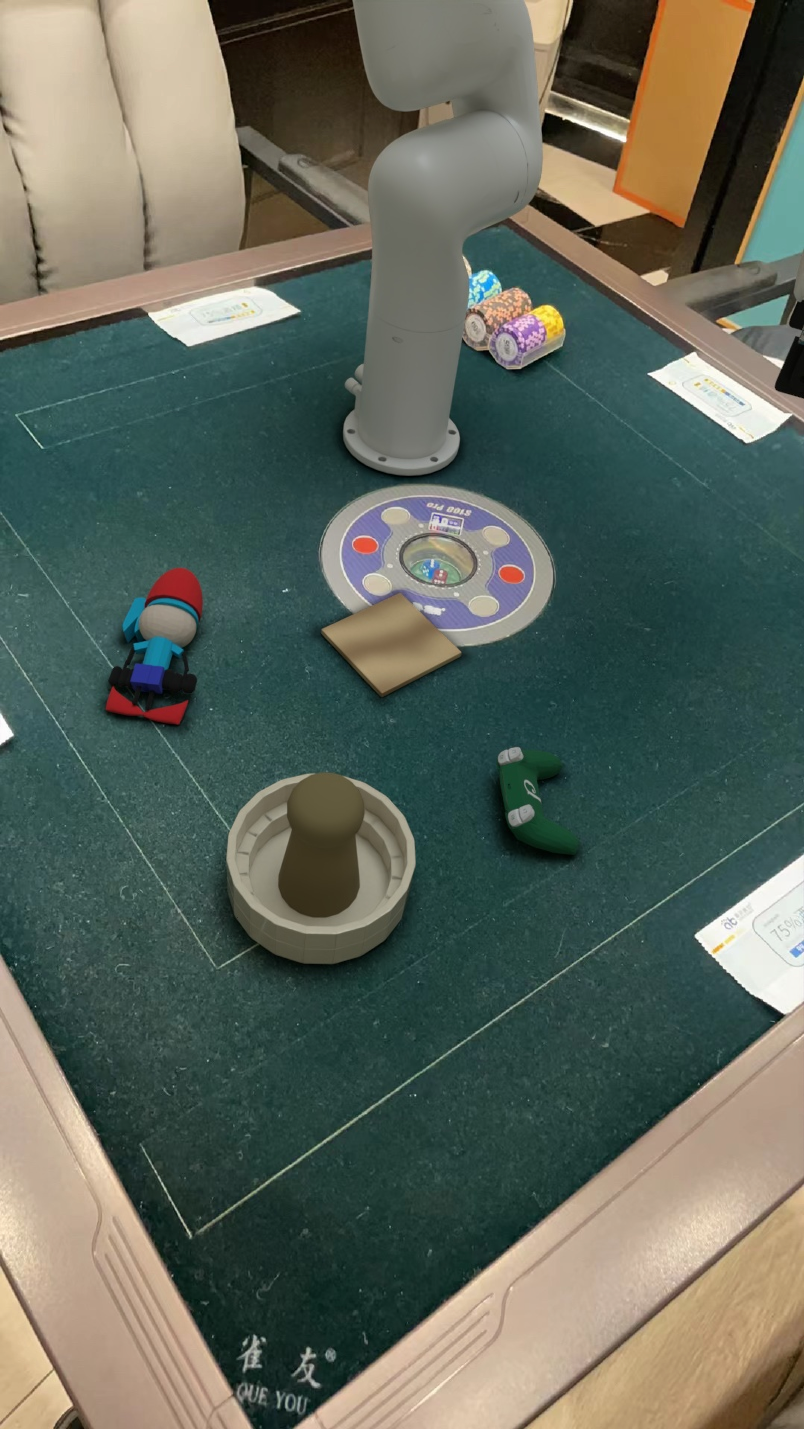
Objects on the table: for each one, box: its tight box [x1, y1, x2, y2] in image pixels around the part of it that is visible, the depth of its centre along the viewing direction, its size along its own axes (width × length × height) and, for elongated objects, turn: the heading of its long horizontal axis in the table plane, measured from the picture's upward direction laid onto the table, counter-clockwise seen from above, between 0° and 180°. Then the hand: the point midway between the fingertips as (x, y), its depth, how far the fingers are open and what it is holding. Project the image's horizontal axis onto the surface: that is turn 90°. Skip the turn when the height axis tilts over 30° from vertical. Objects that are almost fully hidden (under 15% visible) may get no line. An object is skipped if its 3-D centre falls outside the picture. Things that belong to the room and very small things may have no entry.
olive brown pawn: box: [278, 772, 365, 918], centre depth 73 cm, size 6×6×11 cm
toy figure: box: [105, 567, 204, 725], centre depth 89 cm, size 8×5×15 cm
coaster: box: [320, 592, 462, 698], centre depth 94 cm, size 9×9×1 cm
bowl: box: [225, 773, 417, 965], centre depth 76 cm, size 13×13×5 cm
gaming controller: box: [496, 746, 580, 856], centre depth 83 cm, size 9×4×6 cm
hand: (801, 361), depth 78 cm, fingers open, 9 cm apart
